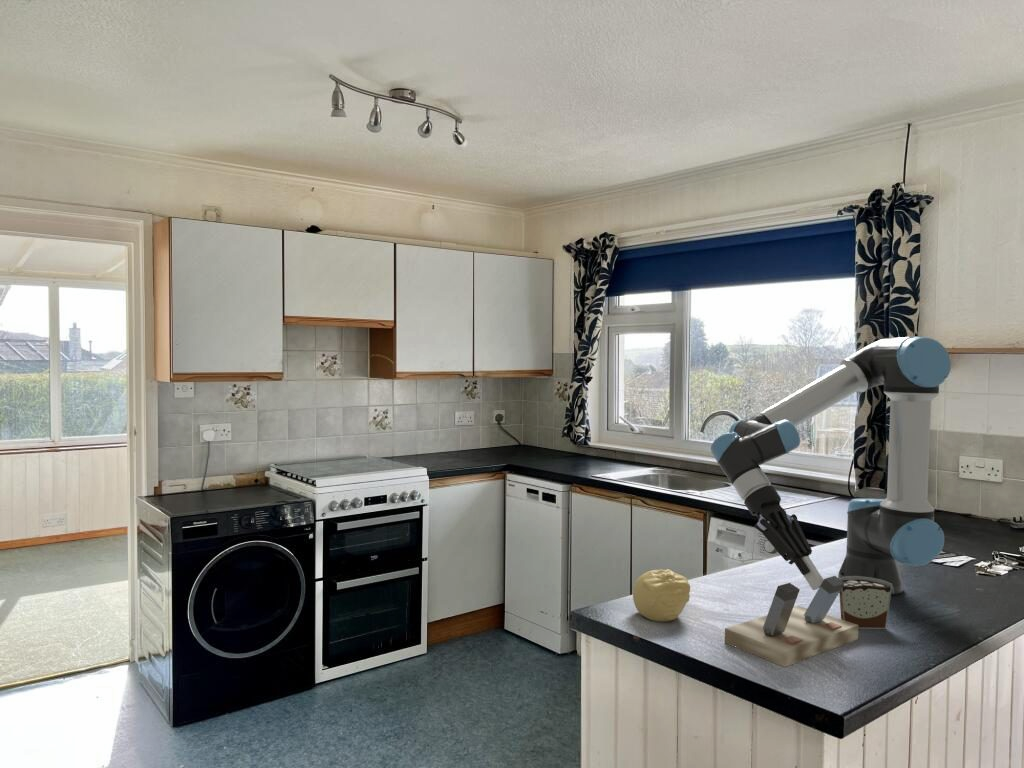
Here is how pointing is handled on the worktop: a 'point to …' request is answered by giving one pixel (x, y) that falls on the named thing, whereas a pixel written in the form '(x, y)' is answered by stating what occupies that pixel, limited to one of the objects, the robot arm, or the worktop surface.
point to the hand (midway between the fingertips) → (819, 586)
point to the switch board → (792, 637)
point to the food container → (865, 601)
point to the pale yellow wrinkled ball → (661, 594)
